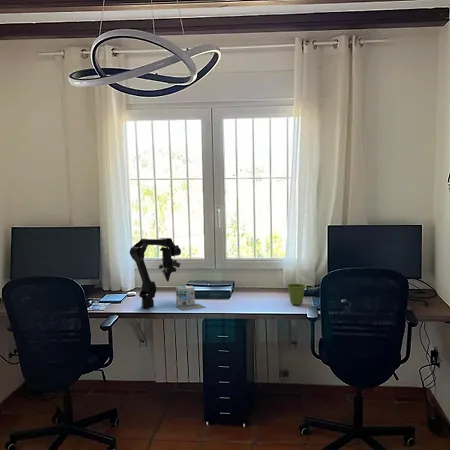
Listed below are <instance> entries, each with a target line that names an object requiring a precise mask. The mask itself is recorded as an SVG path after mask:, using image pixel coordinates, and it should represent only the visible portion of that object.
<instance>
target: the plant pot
mask: <svg viewBox="0 0 450 450" xmlns="http://www.w3.org/2000/svg"><path fill="white" fill-rule="evenodd" d="M286 286H287V290H288V293H289V294H288V295H289V301H290V304H293V305H302V304H303V301H304V295H305V290H306V287H307V285H306V284H303V283H289V284H287V285H286Z"/></svg>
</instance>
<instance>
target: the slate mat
mask: <svg viewBox="0 0 450 450" xmlns="http://www.w3.org/2000/svg"><path fill="white" fill-rule="evenodd" d="M175 308H178V309H179V310H180V311H190V310H196V309H197V310H198V309H206V306H205V305H202V304H200V303H195V304H193V305H181V306H179V305H177V306H175Z"/></svg>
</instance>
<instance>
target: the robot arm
mask: <svg viewBox="0 0 450 450" xmlns="http://www.w3.org/2000/svg"><path fill="white" fill-rule="evenodd" d="M148 246H159V247H161V248H160V249H159V252H161V253H162V258H161V262H162V264H159V265H158V270H161V269H162V270H161V272H162V274H163V276H164V278H165V280H166V282H169V281H170V277H171V274H172V273H174V272H175V273H177V268H178V269H179V268H180V266H181V264H182V263H180V262H178V261H177V260H176V259H174V258H172V257H178V256H181V254H182V250H181V248H180V247H179V245H176V244H175V243H174V242H173V239H172V238H171V237H160V238H157V239H156V238H155V239H154V238H153V239H152V238H140V240H139V241H138V242H136V243H135V244H134V245H133V246H132V247H131V248H130V249H129V255H130V257H131V259H132V260H134V262H135V263H136V267H137V270H138V273H139V276H140V278H141V282H142V283H141V290H140V292H139V294H138V296H139V298H141V306H140V307H141V308H142V309H143V310H144V309H150V308H154V307H155V306H154V305H155V303H154V302H155V301H154V299H155V297H156V292H157V286H156V282H155V281H153V280H151V279H150V278H151V277H150V275H149V272H148V268H147V265H146V263H145V253H146V251H147V249H148Z"/></svg>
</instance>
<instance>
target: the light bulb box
mask: <svg viewBox="0 0 450 450" xmlns="http://www.w3.org/2000/svg"><path fill="white" fill-rule="evenodd" d="M175 298H176V299H175V300H176V301H175V304H176V305H177V306H185V305H193V304H196V303H195V299H196V298H195V287H194V286H193V285H186V286H175Z"/></svg>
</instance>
